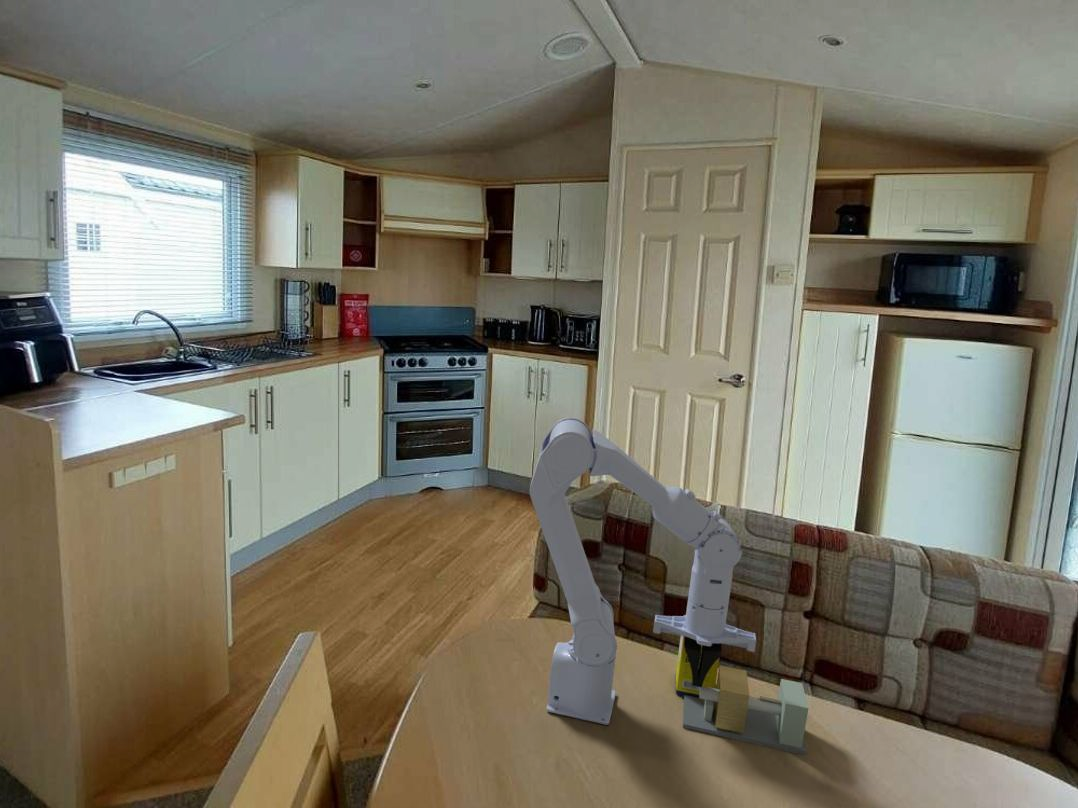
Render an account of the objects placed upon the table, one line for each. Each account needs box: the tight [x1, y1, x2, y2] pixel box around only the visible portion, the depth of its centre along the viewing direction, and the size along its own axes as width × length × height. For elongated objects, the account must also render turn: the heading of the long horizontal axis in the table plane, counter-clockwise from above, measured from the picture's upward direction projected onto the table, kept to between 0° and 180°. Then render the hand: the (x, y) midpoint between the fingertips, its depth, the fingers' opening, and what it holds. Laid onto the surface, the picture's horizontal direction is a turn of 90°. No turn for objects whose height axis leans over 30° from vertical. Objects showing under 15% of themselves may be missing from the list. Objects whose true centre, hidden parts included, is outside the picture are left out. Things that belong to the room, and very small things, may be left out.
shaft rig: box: [682, 678, 809, 756], centre depth 96 cm, size 17×7×7 cm, turn 76°
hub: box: [714, 664, 750, 733], centre depth 96 cm, size 4×6×6 cm, turn 166°
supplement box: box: [675, 614, 720, 698], centre depth 104 cm, size 6×6×11 cm
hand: (697, 682), depth 97 cm, fingers closed
